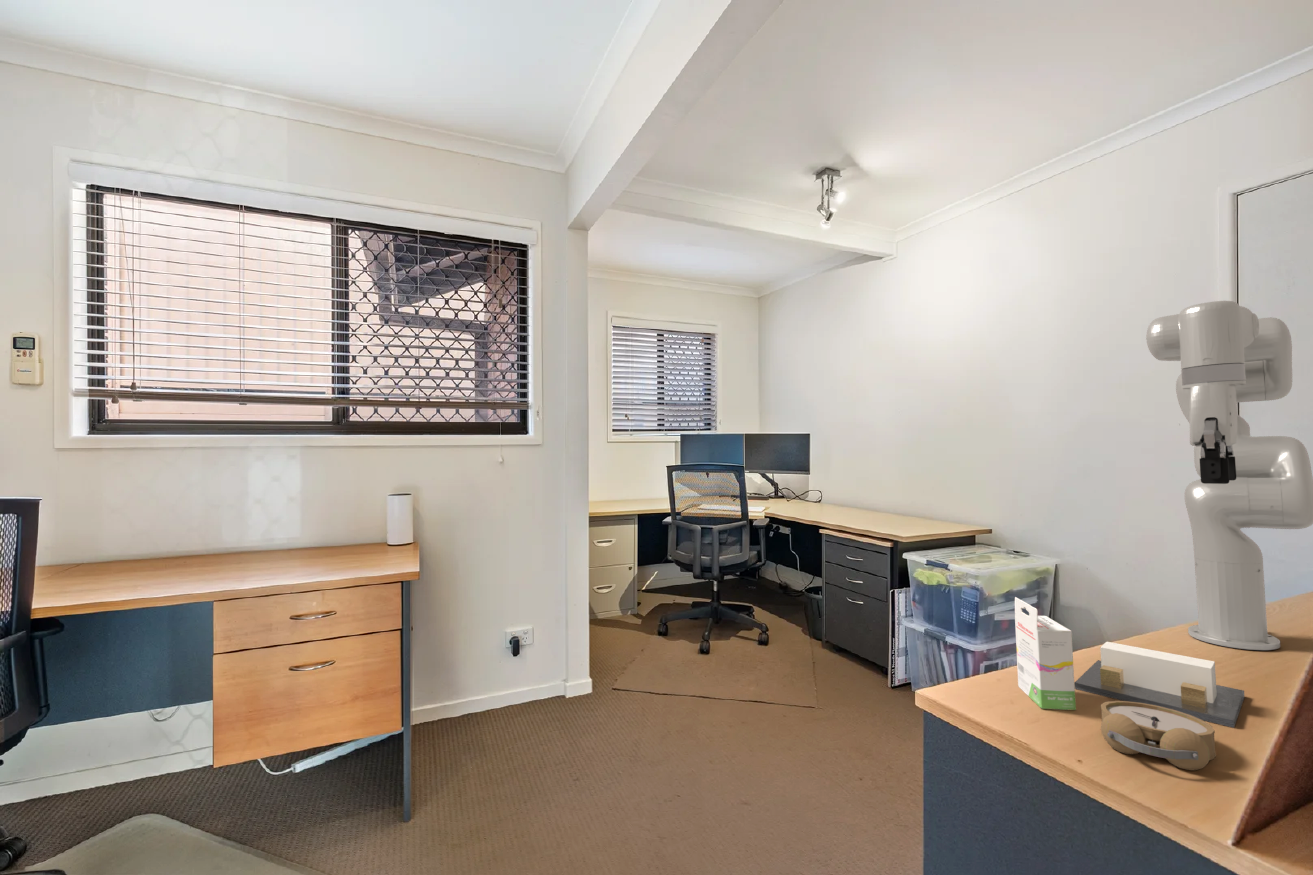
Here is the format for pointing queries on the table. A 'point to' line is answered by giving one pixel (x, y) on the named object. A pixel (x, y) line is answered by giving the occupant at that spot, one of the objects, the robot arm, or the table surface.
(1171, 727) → the alarm clock
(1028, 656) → the ink box
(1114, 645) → the white rectangular block
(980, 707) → the table surface
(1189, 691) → the cradle jig
